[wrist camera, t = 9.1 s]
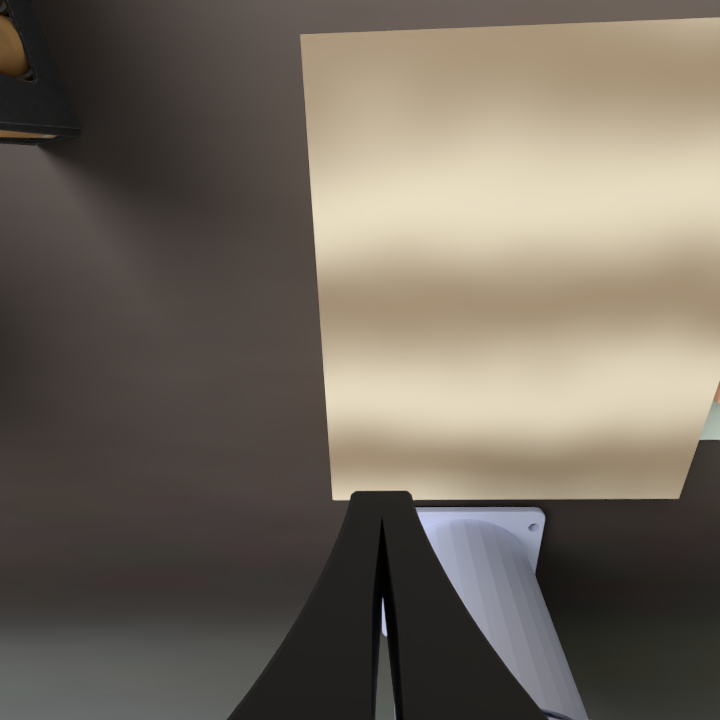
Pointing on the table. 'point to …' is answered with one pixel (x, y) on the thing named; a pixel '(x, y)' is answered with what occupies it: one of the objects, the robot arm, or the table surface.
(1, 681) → the table surface
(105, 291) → the table surface
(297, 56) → the table surface
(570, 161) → the riser
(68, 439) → the table surface
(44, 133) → the ammunition clip
